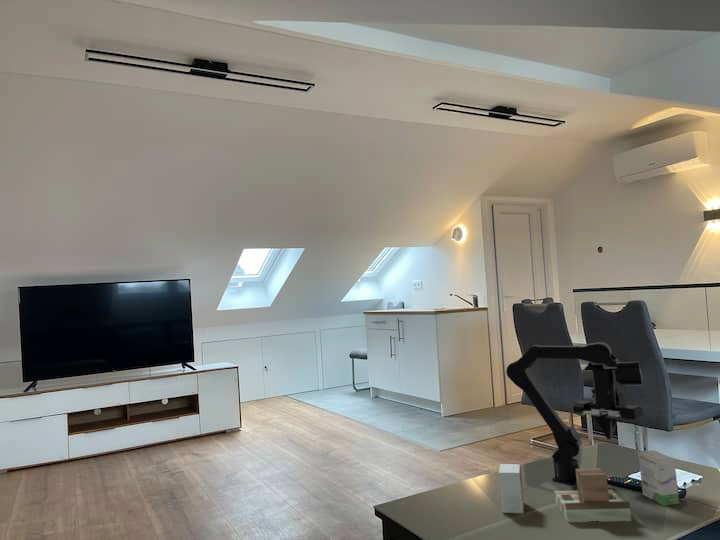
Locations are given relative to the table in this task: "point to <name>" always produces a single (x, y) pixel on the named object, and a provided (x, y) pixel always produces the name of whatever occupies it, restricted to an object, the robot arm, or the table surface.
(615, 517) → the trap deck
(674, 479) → the ink box
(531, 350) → the robot arm
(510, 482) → the small box
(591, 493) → the walnut block
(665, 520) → the table surface
